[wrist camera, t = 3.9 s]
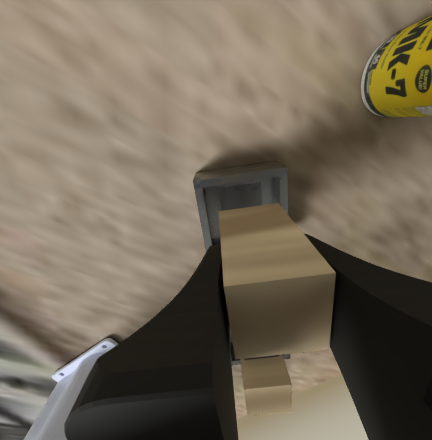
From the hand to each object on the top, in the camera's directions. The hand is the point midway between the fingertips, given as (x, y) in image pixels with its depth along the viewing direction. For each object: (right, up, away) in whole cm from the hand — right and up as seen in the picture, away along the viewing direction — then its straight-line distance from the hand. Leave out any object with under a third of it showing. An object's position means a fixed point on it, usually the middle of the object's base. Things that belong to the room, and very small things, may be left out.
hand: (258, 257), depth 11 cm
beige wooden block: (0, +1, +2) cm, 2 cm away
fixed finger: (+2, -8, +10) cm, 14 cm away
